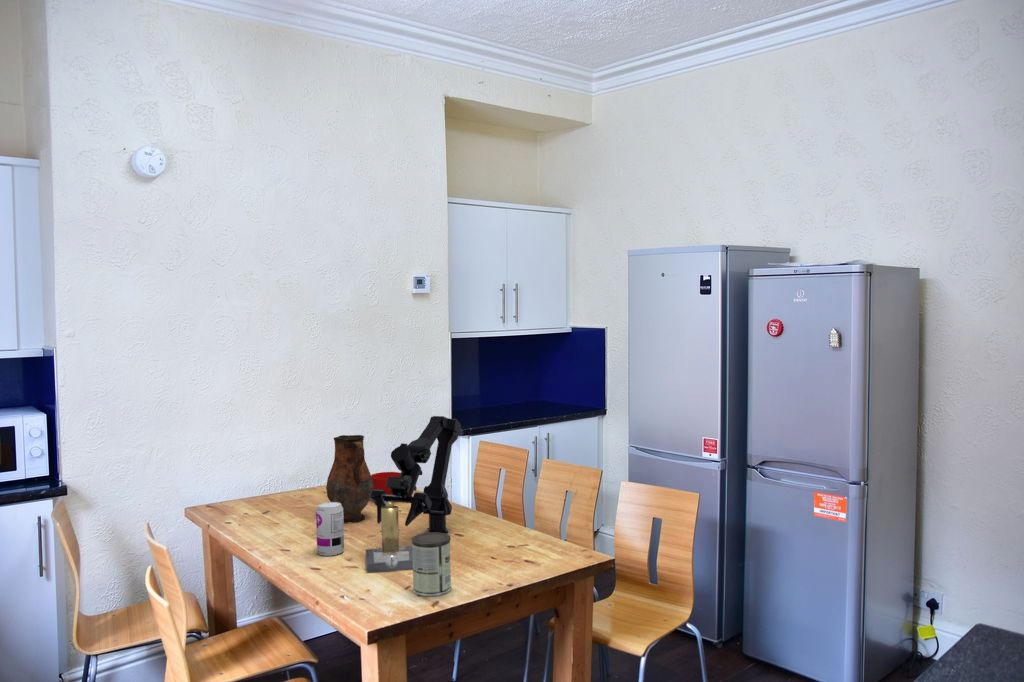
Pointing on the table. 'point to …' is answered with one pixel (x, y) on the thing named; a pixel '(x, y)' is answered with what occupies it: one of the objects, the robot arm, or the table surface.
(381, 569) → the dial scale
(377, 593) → the table surface
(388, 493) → the ceramic cup
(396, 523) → the brass weight
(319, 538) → the supplement can
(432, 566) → the coffee can
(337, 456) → the pitcher
